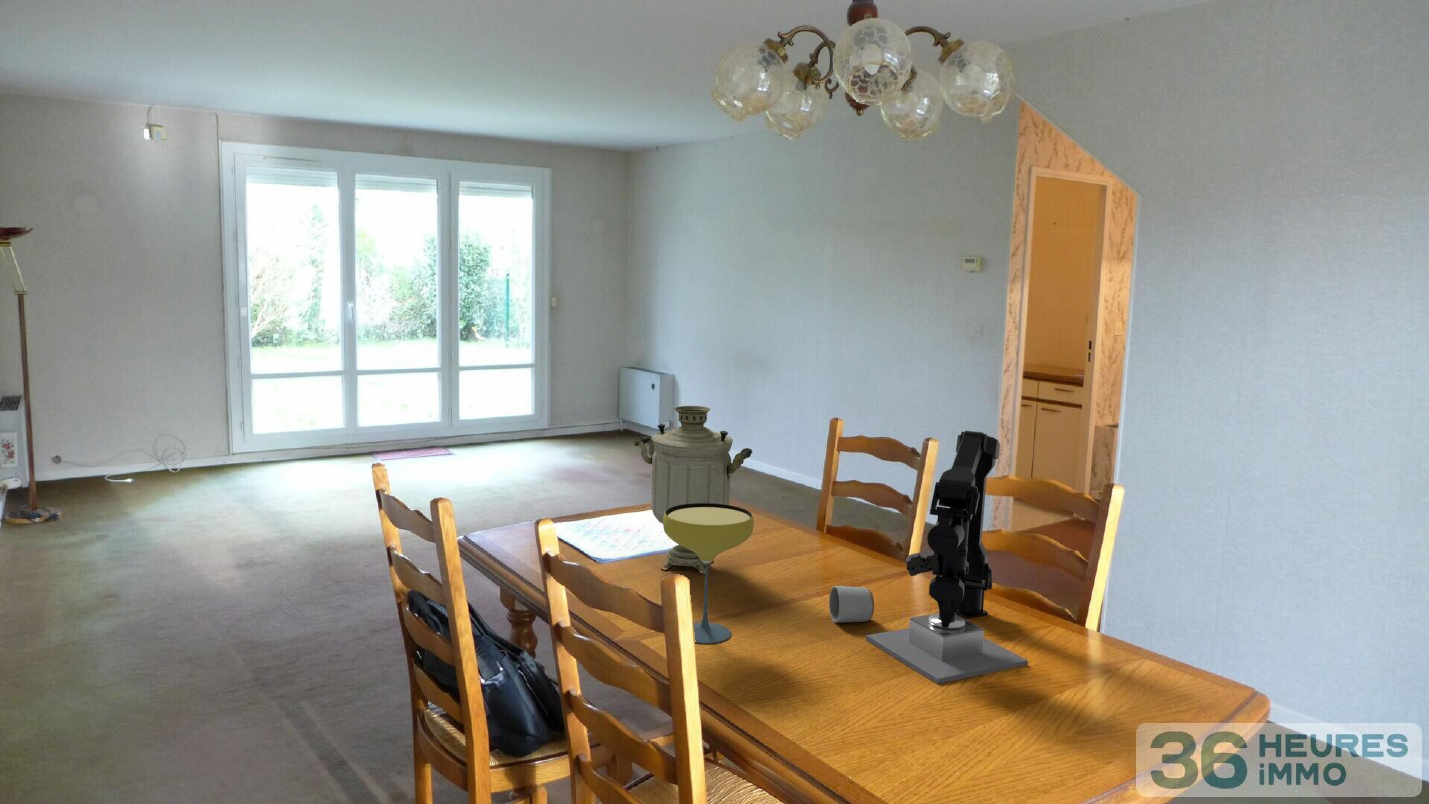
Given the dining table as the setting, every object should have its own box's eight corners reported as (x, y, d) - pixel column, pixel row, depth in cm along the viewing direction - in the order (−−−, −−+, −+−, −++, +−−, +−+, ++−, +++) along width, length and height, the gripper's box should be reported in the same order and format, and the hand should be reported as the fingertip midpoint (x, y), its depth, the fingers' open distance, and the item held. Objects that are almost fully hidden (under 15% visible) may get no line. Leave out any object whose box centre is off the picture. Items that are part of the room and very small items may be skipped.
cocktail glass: (647, 623, 191) (650, 505, 188) (727, 613, 198) (731, 500, 195) (679, 656, 175) (682, 528, 171) (764, 644, 182) (769, 521, 179)
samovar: (771, 562, 236) (778, 407, 231) (717, 589, 214) (723, 419, 209) (676, 541, 252) (680, 396, 246) (616, 564, 230) (619, 405, 224)
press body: (947, 634, 188) (949, 611, 187) (982, 653, 179) (984, 628, 178) (908, 641, 183) (910, 617, 183) (941, 661, 174) (943, 635, 174)
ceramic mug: (875, 626, 194) (877, 591, 193) (838, 627, 192) (839, 592, 191) (858, 609, 204) (860, 576, 203) (822, 610, 203) (824, 576, 202)
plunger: (947, 636, 186) (949, 596, 185) (971, 649, 179) (974, 607, 178) (919, 641, 183) (922, 600, 181) (942, 654, 176) (945, 612, 175)
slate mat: (950, 625, 196) (951, 620, 196) (1027, 665, 176) (1028, 660, 176) (865, 640, 186) (866, 635, 186) (937, 684, 167) (937, 678, 166)
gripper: (915, 525, 190) (910, 598, 192) (904, 549, 172) (899, 629, 174) (971, 531, 186) (966, 606, 188) (965, 557, 169) (959, 638, 171)
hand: (946, 619), depth 180 cm, fingers open, 9 cm apart
